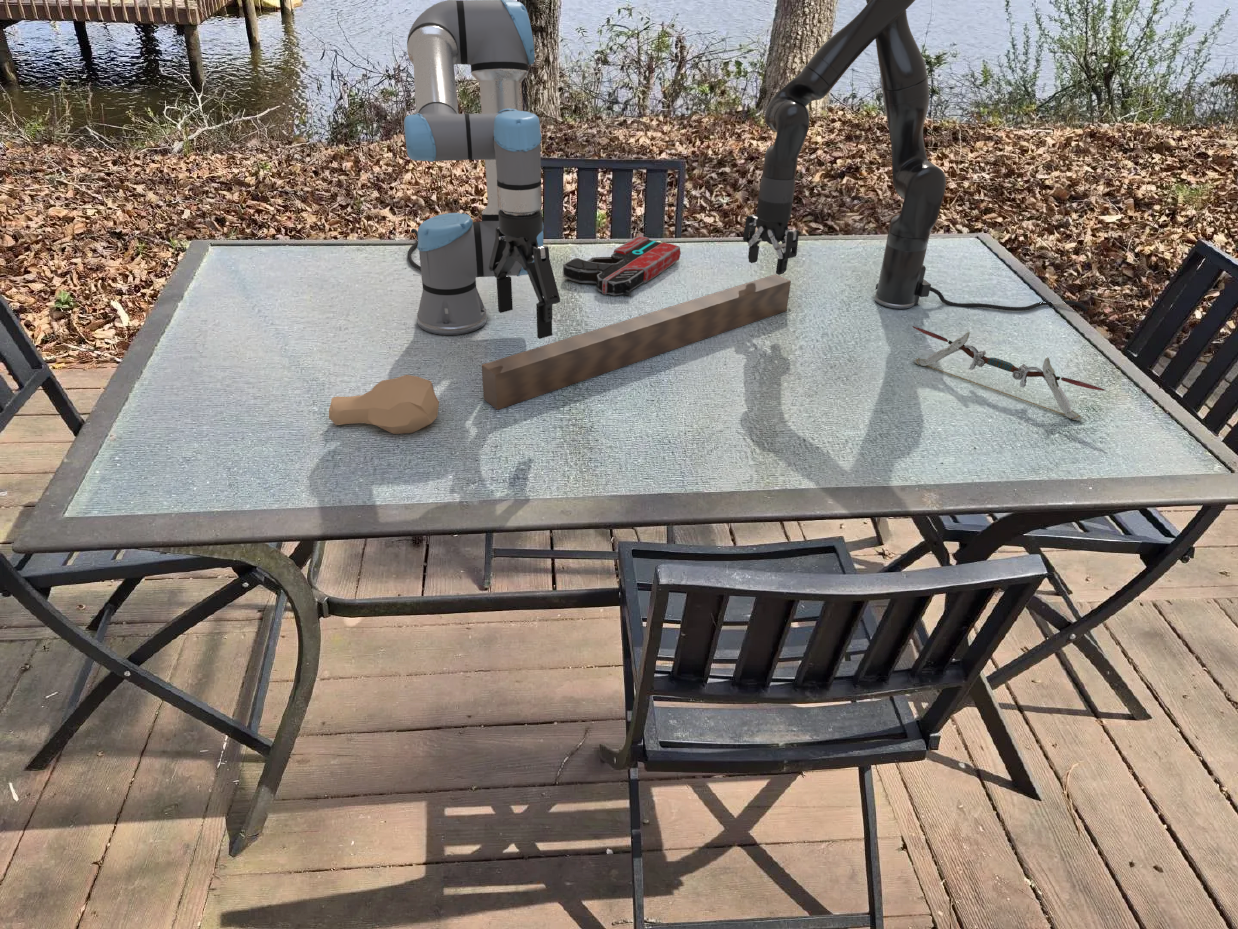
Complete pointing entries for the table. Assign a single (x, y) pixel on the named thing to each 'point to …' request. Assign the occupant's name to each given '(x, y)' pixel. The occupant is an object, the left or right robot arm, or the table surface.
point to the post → (630, 341)
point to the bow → (1018, 373)
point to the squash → (390, 405)
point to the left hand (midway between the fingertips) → (524, 323)
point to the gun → (624, 266)
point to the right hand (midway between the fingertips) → (766, 267)
